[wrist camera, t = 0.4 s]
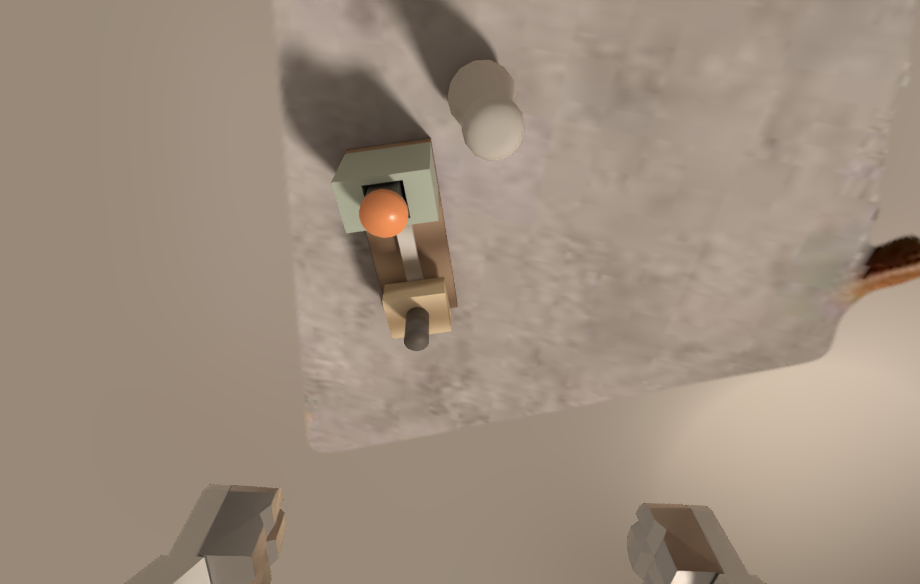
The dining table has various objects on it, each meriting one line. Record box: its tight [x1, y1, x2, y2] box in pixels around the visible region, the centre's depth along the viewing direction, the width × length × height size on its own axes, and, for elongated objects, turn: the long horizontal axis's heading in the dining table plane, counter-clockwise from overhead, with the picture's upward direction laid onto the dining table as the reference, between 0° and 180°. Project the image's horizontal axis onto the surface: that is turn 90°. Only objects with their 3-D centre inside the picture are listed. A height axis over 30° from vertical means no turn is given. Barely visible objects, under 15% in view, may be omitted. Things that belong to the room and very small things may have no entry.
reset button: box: [359, 180, 408, 238], centre depth 39 cm, size 4×4×5 cm
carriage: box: [382, 277, 451, 351], centre depth 49 cm, size 5×6×7 cm
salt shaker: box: [447, 60, 525, 160], centre depth 37 cm, size 6×6×13 cm
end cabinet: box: [331, 142, 439, 233], centre depth 42 cm, size 5×8×7 cm, turn 97°
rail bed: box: [345, 138, 458, 308], centre depth 49 cm, size 19×8×2 cm, turn 7°
